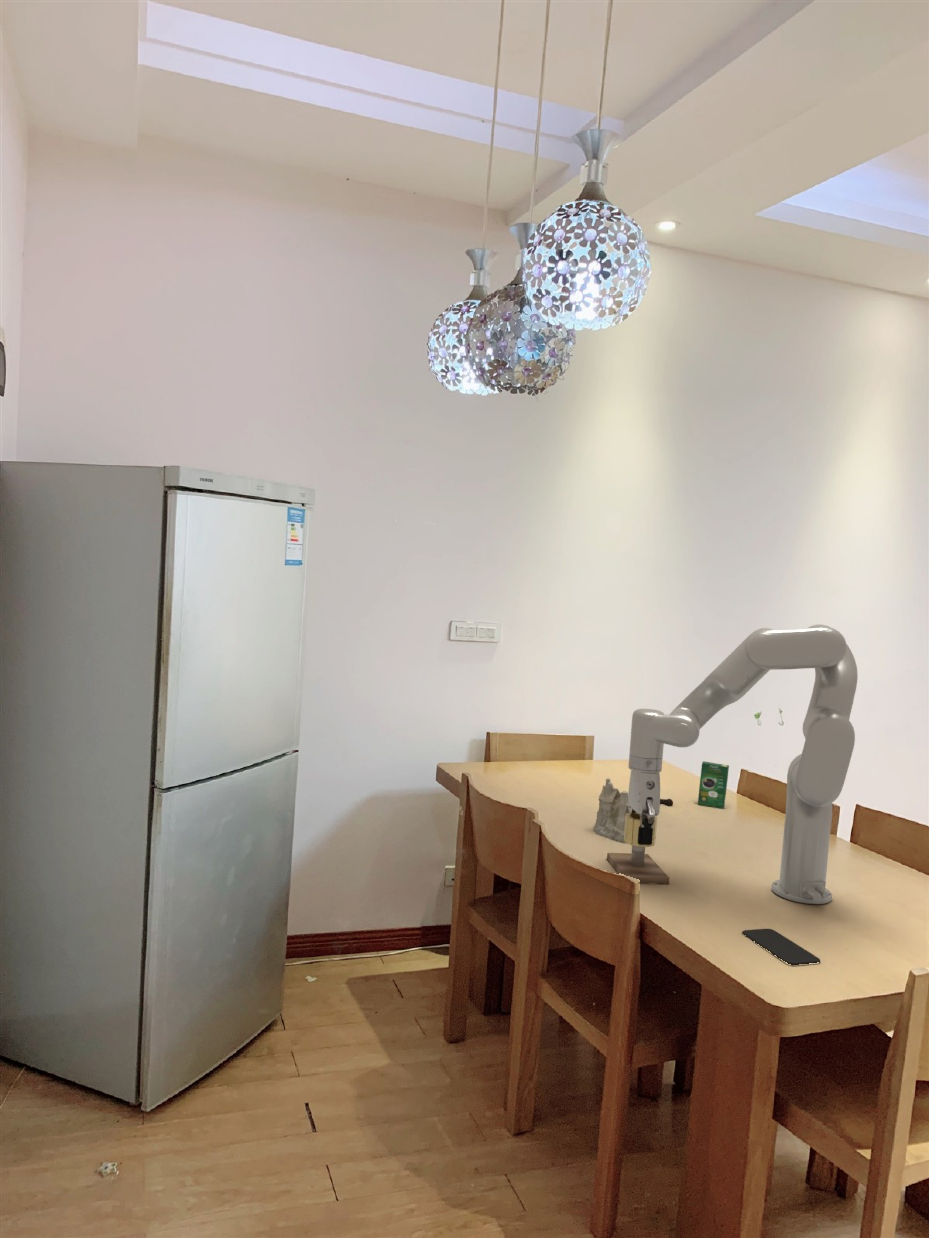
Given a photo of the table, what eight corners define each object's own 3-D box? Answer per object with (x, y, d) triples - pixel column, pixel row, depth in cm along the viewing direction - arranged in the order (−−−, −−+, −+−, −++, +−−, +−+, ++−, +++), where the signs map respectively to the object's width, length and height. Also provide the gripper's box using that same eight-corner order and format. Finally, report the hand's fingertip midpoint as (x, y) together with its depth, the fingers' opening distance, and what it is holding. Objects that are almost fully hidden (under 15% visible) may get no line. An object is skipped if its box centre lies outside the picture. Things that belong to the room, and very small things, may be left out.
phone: (771, 927, 178) (823, 960, 164) (771, 932, 178) (823, 965, 164) (739, 930, 176) (789, 963, 161) (739, 934, 176) (789, 968, 161)
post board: (668, 884, 200) (672, 840, 200) (625, 882, 199) (628, 838, 199) (647, 860, 216) (650, 819, 216) (606, 858, 215) (610, 817, 215)
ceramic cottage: (625, 845, 226) (630, 786, 227) (581, 829, 240) (586, 773, 240) (667, 841, 235) (672, 784, 235) (622, 826, 249) (628, 772, 249)
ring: (658, 847, 204) (660, 821, 204) (628, 846, 204) (630, 820, 203) (649, 837, 211) (651, 812, 211) (620, 836, 210) (622, 811, 210)
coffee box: (726, 807, 271) (729, 764, 270) (724, 809, 269) (728, 766, 268) (698, 802, 274) (702, 760, 274) (697, 804, 272) (700, 762, 271)
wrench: (673, 812, 270) (654, 829, 242) (656, 810, 272) (635, 827, 244) (673, 794, 270) (655, 810, 242) (656, 792, 272) (636, 808, 244)
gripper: (673, 772, 198) (667, 851, 199) (649, 755, 215) (644, 828, 216) (640, 771, 197) (634, 850, 198) (619, 754, 214) (613, 827, 216)
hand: (639, 838), depth 207 cm, fingers closed on ring, 7 cm apart
